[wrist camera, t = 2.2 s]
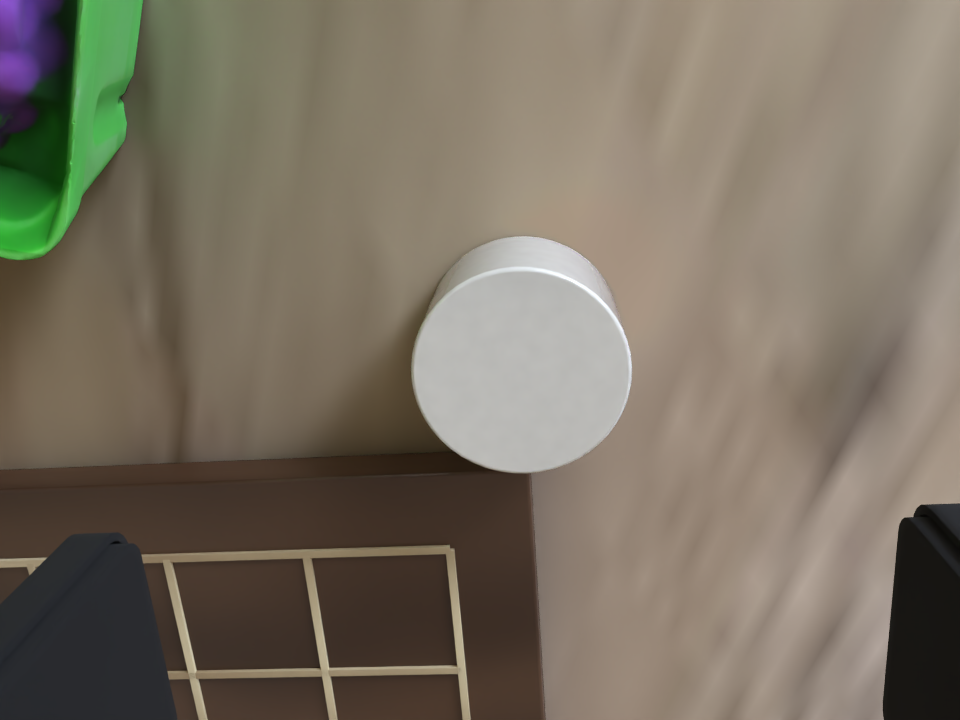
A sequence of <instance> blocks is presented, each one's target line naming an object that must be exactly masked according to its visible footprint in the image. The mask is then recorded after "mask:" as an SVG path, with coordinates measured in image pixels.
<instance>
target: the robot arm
mask: <svg viewBox="0 0 960 720" xmlns="http://www.w3.org/2000/svg"><path fill="white" fill-rule="evenodd" d="M883 716H884V720H960V504H932V505H920V506H919V507H918V508H917V509H916V511H915V513H914V517H909V518H904V519H902V521H901V523H900V525H899V531H898V541H897V552H896V563H895V575H894V586H893V597H892V608H891V619H890V630H889V641H888V652H887V663H886V674H885V685H884V696H883ZM0 720H177V713H176V708H175V704H174V699H173V695H172V690H171V686H170V681H169V677H168V672H167V668H166V663H165V659H164V654H163V650H162V645H161V641H160V636H159V632H158V627H157V623H156V618H155V614H154V609H153V605H152V600H151V596H150V591H149V587H148V582H147V578H146V573H145V569H144V564H143V560H142V555H141V552H140V549H139V548H138V546H137V545H135V544H134V543H128V542H127V540H126V538H125V537H124V536H123V535H122V534H120V533H119V532H115V533H86V534H72V535H71V536H69V537H68V538H67V539H66V540H65V541H64V542H63V543H62V544H61V545H60V546H59V547H58V548H57V549H56V550H55V551H54V552H53V553H52V554H51V555H50V556H49V557H48V558H46V559H45V560H44V561H43V562H42V563H41V564H40V565H39V566H38V567H37V568H36V569H35V570H34V571H33V572H32V573H31V574H30V575H29V576H28V577H27V578H26V579H25V580H24V581H23V582H22V583H21V584H20V585H19V586H18V587H17V588H16V589H15V590H14V591H13V592H12V593H11V594H10V595H9V596H8V597H7V598H6V599H5V600H4V601H3V602H2V603H1V604H0Z"/></svg>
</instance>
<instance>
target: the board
mask: <svg viewBox="0 0 960 720" xmlns="http://www.w3.org/2000/svg"><path fill="white" fill-rule="evenodd" d="M115 532H119V533H120V534H122V535H123V536H124V537H125V538H126V540H127V542H128V543H134V544H135V545H137V546H138V548H139V549H140V552H141V555H142V560H143V564H144V569H145V573H146V578H147V582H148V587H149V591H150V596H151V600H152V605H153V609H154V614H155V618H156V623H157V627H158V632H159V636H160V641H161V645H162V650H163V654H164V659H165V663H166V668H167V672H168V677H169V681H170V686H171V690H172V695H173V699H174V704H175V708H176V713H177V720H546V717H545V701H544V684H543V667H542V650H541V633H540V617H539V600H538V583H537V566H536V549H535V533H534V516H533V499H532V482H531V473H527V474H525V473H508V472H500V471H496V470H492V469H488V468H485V467H482V466H480V465H477V464H475V463H473V462H471V461H469V460H467V459H465V458H463V457H461V456H460V455H459V454H457V453H456V452H440V453H415V454H391V455H366V456H341V457H316V458H292V459H267V460H242V461H217V462H192V463H168V464H143V465H118V466H93V467H69V468H44V469H19V470H0V604H1V603H2V602H3V601H4V600H5V599H6V598H7V597H8V596H9V595H10V594H11V593H12V592H13V591H14V590H15V589H16V588H17V587H18V586H19V585H20V584H21V583H22V582H23V581H24V580H25V579H26V578H27V577H28V576H29V575H30V574H31V573H32V572H33V571H34V570H35V569H36V568H37V567H38V566H39V565H40V564H41V563H42V562H43V561H44V560H45V559H46V558H48V557H49V556H50V555H51V554H52V553H53V552H54V551H55V550H56V549H57V548H58V547H59V546H60V545H61V544H62V543H63V542H64V541H65V540H66V539H67V538H68V537H69V536H71V535H72V534H86V533H115Z"/></svg>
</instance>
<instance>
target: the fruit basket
mask: <svg viewBox="0 0 960 720" xmlns="http://www.w3.org/2000/svg"><path fill="white" fill-rule="evenodd" d="M142 5H143V0H0V257H2V258H6V259H11V260H30V259H35V258H40V257H42V256H44V255H45V254H47V253H48V252H49V251H51V250H52V249H53V248H54V247H55V246H56V245H57V244H58V243H59V242H60V241H61V239H62V237H63V235H64V234H65V232H66V230H67V229H68V227H69V225H70V224H71V222H72V221H73V219H74V217H75V216H76V214H77V212H78V209H79V206H80V203H81V197H82V196H83V194H84V193H85V192H86V190H87V189H88V188H89V187H90V185H91V184H92V183H93V182H94V180H95V179H96V178H97V177H98V175H99V174H100V173H101V171H102V170H103V169H104V168H105V166H106V165H107V164H108V162H109V161H110V160H111V159H112V157H113V156H114V154H115V153H116V152H117V150H118V149H119V148H120V146H121V145H122V144H123V143H124V140H125V137H126V128H127V121H126V117H125V112H124V103H123V102H122V100H121V99H120V98H121V96H122V95H123V94H124V93H125V92H126V89H127V86H128V84H129V82H130V80H131V78H132V76H133V73H134V66H135V58H136V51H137V43H138V36H139V28H140V20H141V13H142Z"/></svg>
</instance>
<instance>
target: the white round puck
mask: <svg viewBox="0 0 960 720" xmlns="http://www.w3.org/2000/svg"><path fill="white" fill-rule="evenodd" d="M411 380H412V386H413V391H414V395H415V398H416V401H417V404H418V407H419V409H420V411H421V413H422V415H423V417H424V419H425V420H426V422H427V423H428V425H429V427H430V428H431V429H432V431H433V432H434V433H435V434H436V435H437V436H438V438H439V439H440V440H441V441H442V442H443V443H445V444H446V445H447V446H448V447H449V448H450V449H451V450H453V451H454V452H456V453H457V454H459V455H460V456H461V457H463V458H465V459H467V460H469V461H471V462H473V463H475V464H477V465H480V466H482V467H485V468H488V469H492V470H496V471H500V472H508V473H525V474H527V473H537V472H543V471H548V470H553V469H556V468H559V467H562V466H565V465H567V464H569V463H571V462H573V461H575V460H577V459H579V458H581V457H582V456H584V455H585V454H587V453H588V452H590V451H591V450H593V449H594V448H595V447H596V446H597V445H598V444H600V443H601V442H602V441H603V440H604V439H605V437H606V436H607V435H608V434H609V433H610V432H611V430H612V429H613V428H614V426H615V425H616V423H617V422H618V420H619V418H620V416H621V414H622V412H623V410H624V408H625V405H626V403H627V400H628V397H629V392H630V387H631V382H632V361H631V353H630V349H629V344H628V341H627V337H626V334H625V331H624V328H623V325H622V322H621V319H620V316H619V313H618V310H617V306H616V303H615V301H614V298H613V295H612V293H611V290H610V288H609V287H608V285H607V283H606V281H605V280H604V278H603V277H602V276H601V274H600V273H599V272H598V270H597V269H596V268H595V267H594V266H593V265H592V264H591V263H590V262H589V261H588V260H587V259H585V258H584V257H583V256H582V255H580V254H579V253H577V252H576V251H574V250H572V249H571V248H569V247H567V246H565V245H562V244H560V243H557V242H555V241H551V240H547V239H544V238H537V237H524V236H517V237H509V238H502V239H499V240H495V241H491V242H489V243H486V244H484V245H481V246H479V247H477V248H476V249H474V250H472V251H470V252H468V253H467V254H466V255H465V256H463V257H462V258H461V259H459V260H458V261H457V262H456V263H455V264H454V265H453V266H452V267H451V268H450V269H449V270H448V272H447V273H446V274H445V276H444V277H443V278H442V280H441V282H440V283H439V285H438V287H437V289H436V291H435V293H434V296H433V298H432V300H431V303H430V305H429V308H428V310H427V312H426V315H425V317H424V320H423V322H422V325H421V327H420V329H419V332H418V334H417V337H416V339H415V344H414V348H413V352H412V360H411Z"/></svg>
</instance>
